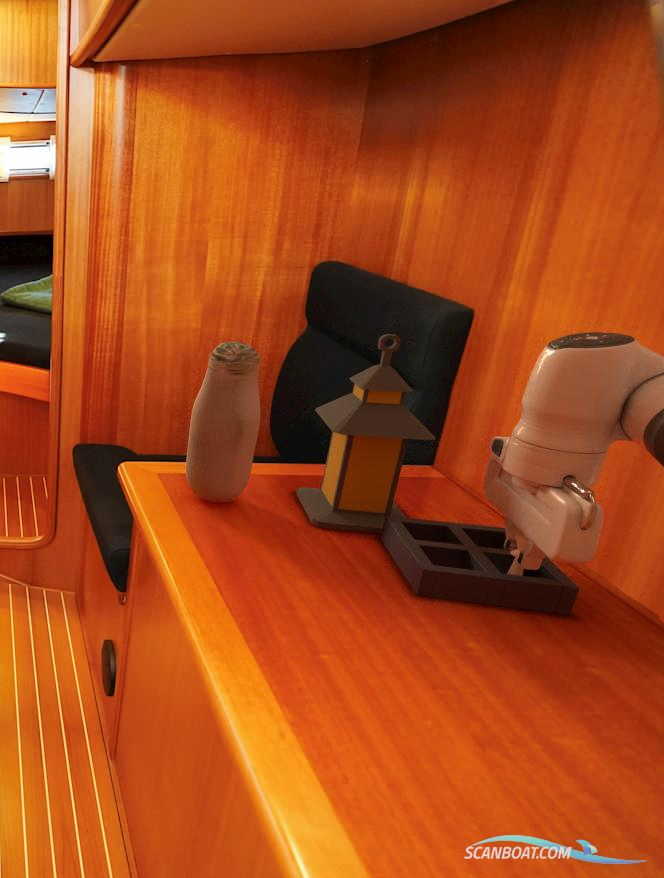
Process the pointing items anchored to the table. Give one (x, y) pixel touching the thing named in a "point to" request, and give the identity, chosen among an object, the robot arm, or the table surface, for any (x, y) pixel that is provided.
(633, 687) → the table surface
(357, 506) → the lantern
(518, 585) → the compartment tray
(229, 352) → the beige bottle
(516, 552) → the chess piece
